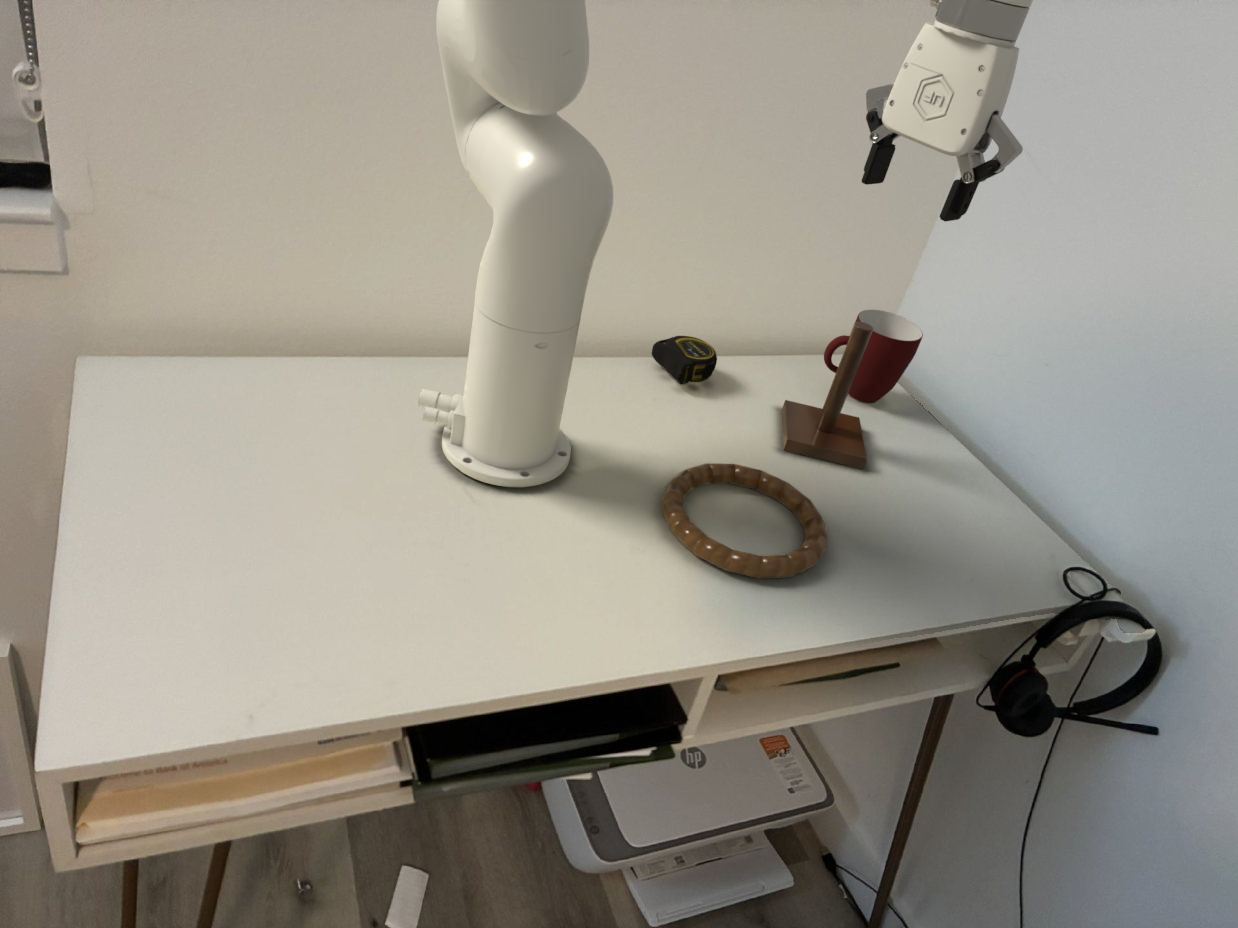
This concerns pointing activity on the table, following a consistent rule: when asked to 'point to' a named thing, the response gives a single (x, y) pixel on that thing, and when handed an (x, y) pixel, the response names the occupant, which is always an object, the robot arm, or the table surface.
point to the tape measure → (685, 358)
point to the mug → (880, 354)
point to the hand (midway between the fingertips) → (909, 200)
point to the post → (830, 414)
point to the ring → (733, 558)
